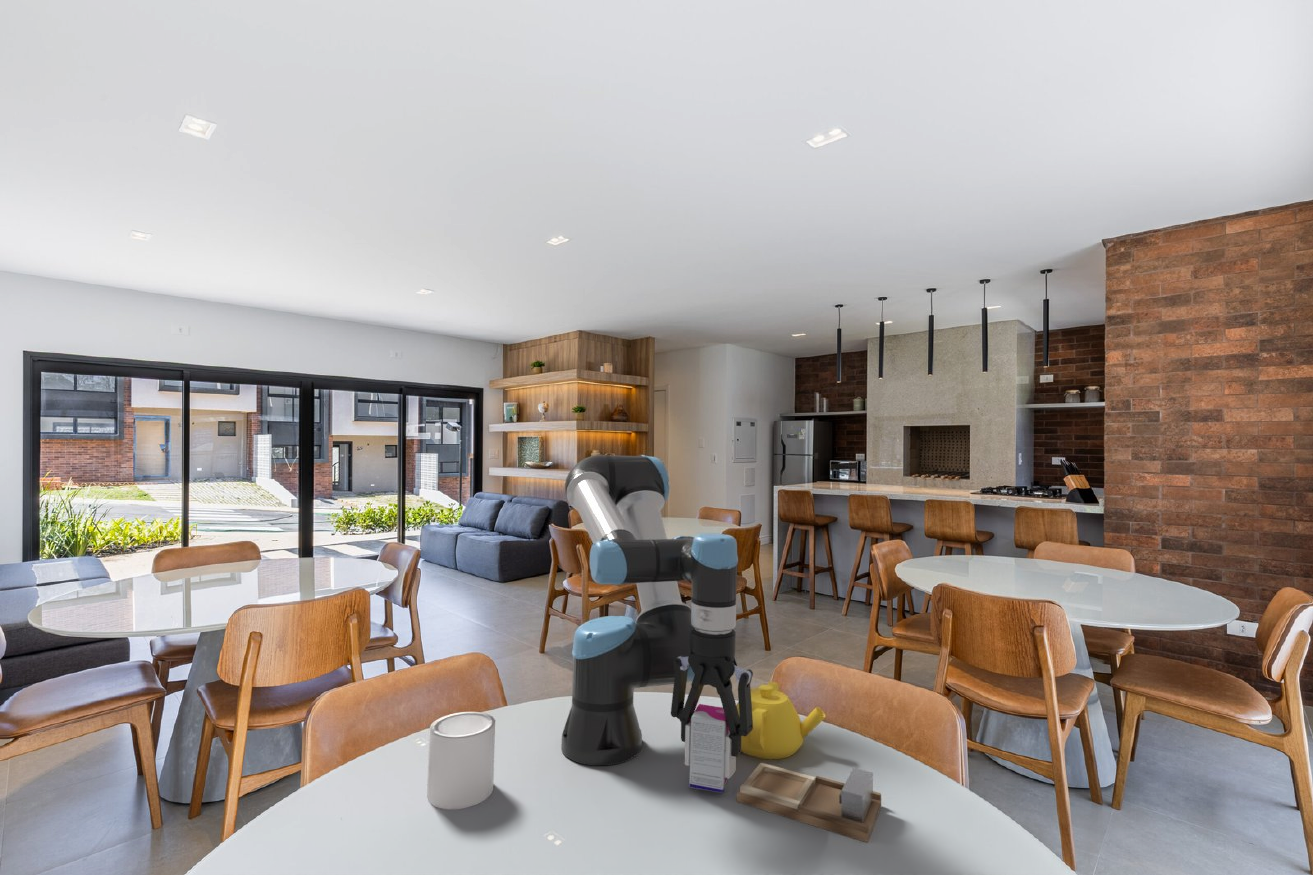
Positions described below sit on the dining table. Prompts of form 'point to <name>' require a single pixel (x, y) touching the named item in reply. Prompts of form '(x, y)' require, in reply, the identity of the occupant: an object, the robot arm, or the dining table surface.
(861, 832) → the board
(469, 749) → the mug
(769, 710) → the teapot
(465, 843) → the dining table surface
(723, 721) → the supplement box
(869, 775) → the block
